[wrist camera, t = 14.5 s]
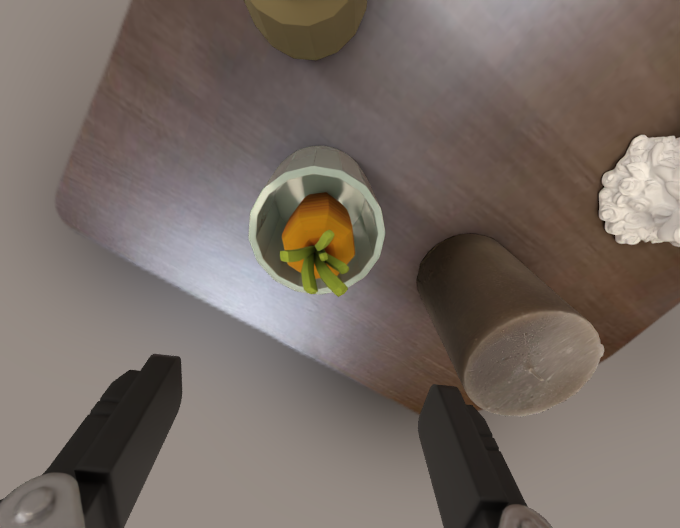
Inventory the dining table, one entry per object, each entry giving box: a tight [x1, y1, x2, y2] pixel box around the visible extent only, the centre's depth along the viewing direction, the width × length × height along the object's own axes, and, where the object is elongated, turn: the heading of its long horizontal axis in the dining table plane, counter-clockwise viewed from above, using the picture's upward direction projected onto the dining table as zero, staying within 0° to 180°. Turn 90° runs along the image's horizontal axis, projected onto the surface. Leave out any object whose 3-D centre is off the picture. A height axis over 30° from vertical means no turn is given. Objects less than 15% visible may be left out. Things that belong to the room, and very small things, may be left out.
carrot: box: [280, 192, 355, 297], centre depth 25 cm, size 5×5×15 cm
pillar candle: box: [417, 234, 604, 417], centre depth 29 cm, size 10×10×15 cm
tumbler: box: [249, 146, 385, 294], centre depth 27 cm, size 9×9×10 cm
